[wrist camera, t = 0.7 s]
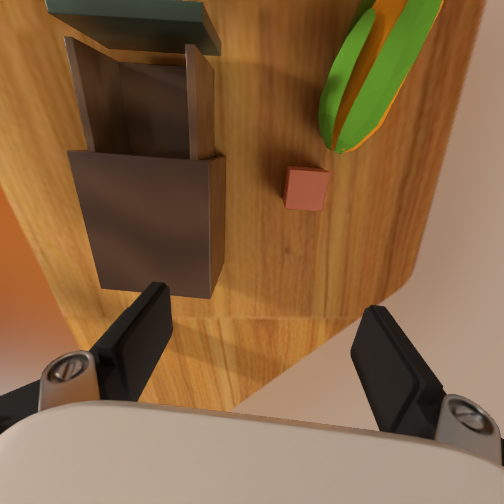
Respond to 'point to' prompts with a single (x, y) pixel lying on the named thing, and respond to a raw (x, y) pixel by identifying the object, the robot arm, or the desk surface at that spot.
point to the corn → (372, 68)
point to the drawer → (143, 76)
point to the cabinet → (153, 220)
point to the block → (305, 188)
